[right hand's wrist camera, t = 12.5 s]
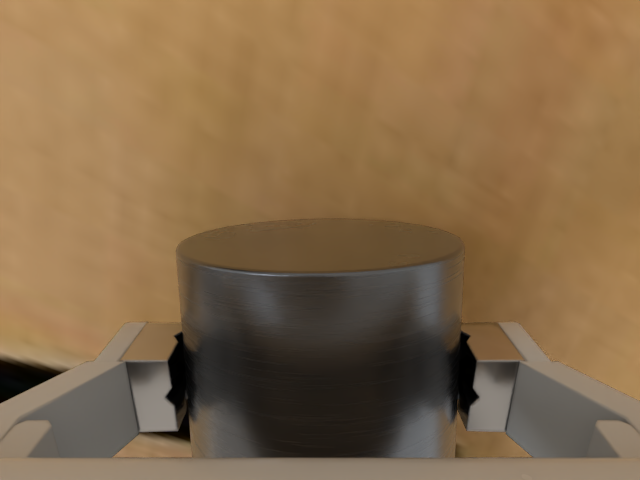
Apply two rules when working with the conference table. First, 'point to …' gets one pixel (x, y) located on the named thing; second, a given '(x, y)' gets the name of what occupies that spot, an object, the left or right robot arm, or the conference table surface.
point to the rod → (322, 339)
